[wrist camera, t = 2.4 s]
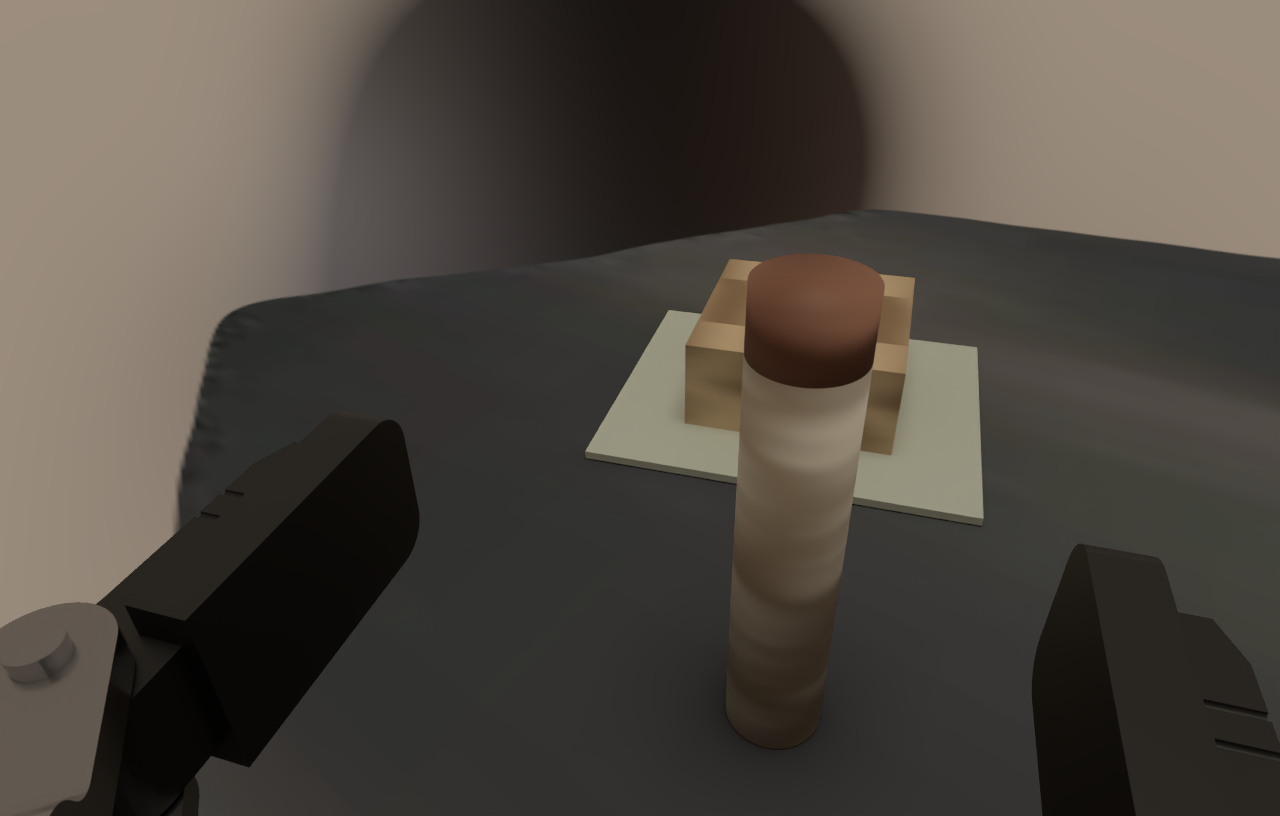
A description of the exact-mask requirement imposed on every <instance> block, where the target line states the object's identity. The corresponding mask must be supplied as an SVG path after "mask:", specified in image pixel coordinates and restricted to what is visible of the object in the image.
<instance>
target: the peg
mask: <svg viewBox="0 0 1280 816" xmlns="http://www.w3.org/2000/svg"><path fill="white" fill-rule="evenodd" d="M884 290H885V284H884V281H883V279H882V278H881V276H880V275H879V274H878V273H877V272H875V271H874V270H873V269H871V268H869V267H868V266H866V265H864V264H861V263H859V262H856V261H853V260H850V259H846V258H842V257H838V256H832V255H824V254H792V255H785V256H780V257H775V258H772V259H769V260H766V261H764V262H762V263H760V264H758V265H757V266H755V267H754V268H753V269H752V270H751V271H750V273H749V275H748V280H747V300H746V319H745V338H744V357H743V376H742V395H741V415H740V434H739V453H738V472H737V491H736V510H735V530H734V549H733V568H732V587H731V606H730V625H729V645H728V664H727V683H726V703H725V707H726V713H727V717H728V719H729V721H730V723H731V725H732V726H733V728H734V729H735V730H736V731H737V732H738V733H739V734H740V735H741V736H742V737H743V738H745V739H746V740H748V741H749V742H751V743H753V744H756V745H758V746H761V747H765V748H770V749H785V748H790V747H794V746H797V745H799V744H801V743H803V742H804V741H806V740H807V739H808V738H809V737H810V736H811V735H812V734H813V733H814V731H815V730H816V728H817V726H818V723H819V719H820V712H821V705H822V699H823V692H824V686H825V679H826V673H827V666H828V659H829V653H830V646H831V640H832V633H833V626H834V620H835V613H836V607H837V600H838V593H839V587H840V580H841V574H842V567H843V561H844V554H845V547H846V541H847V534H848V528H849V521H850V514H851V508H852V501H853V495H854V488H855V481H856V475H857V468H858V462H859V455H860V449H861V442H862V435H863V429H864V422H865V416H866V409H867V402H868V396H869V389H870V383H871V376H872V369H873V363H874V356H875V350H876V343H877V337H878V330H879V323H880V317H881V310H882V304H883V297H884Z"/></svg>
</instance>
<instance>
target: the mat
mask: <svg viewBox="0 0 1280 816" xmlns="http://www.w3.org/2000/svg"><path fill="white" fill-rule="evenodd" d="M700 316H701V314H696V313H688V312H680V311H672V310H669V311H668V313H667V314H666V316H665V318H664V319H663V321H662V323H661V324H660V326H659V328H658V330H657V331H656V333H655V335H654V336H653V338H652V340H651V341H650V343H649V345H648V346H647V348H646V350H645V351H644V353H643V355H642V357H641V358H640V360H639V362H638V363H637V365H636V367H635V368H634V370H633V372H632V373H631V375H630V377H629V379H628V380H627V382H626V384H625V385H624V387H623V389H622V390H621V392H620V394H619V395H618V397H617V399H616V400H615V402H614V404H613V406H612V407H611V409H610V411H609V412H608V414H607V416H606V417H605V419H604V421H603V422H602V424H601V426H600V427H599V429H598V431H597V433H596V434H595V436H594V438H593V439H592V441H591V443H590V444H589V446H588V448H587V449H586V451H585V454H586V458H588V459H594V460H600V461H606V462H612V463H618V464H623V465H629V466H635V467H641V468H647V469H653V470H658V471H664V472H670V473H676V474H682V475H688V476H693V477H699V478H705V479H711V480H717V481H723V482H728V483H734V484H737V472H738V453H739V434H740V432H737V431H730V430H724V429H718V428H711V427H705V426H698V425H692V424H685V345H686V343H687V341H688V339H689V337H690V335H691V333H692V331H693V329H694V327H695V325H696V324H697V322H698V320H699V318H700ZM852 504H857V505H863V506H868V507H874V508H880V509H886V510H892V511H898V512H903V513H909V514H915V515H921V516H927V517H933V518H938V519H944V520H950V521H956V522H962V523H968V524H973V525H979V526H982V522H983V495H982V468H981V440H980V413H979V385H978V358H977V347H969V346H961V345H952V344H944V343H936V342H928V341H919V340H911V339H909V346H908V356H907V367H906V376H905V381H904V387H903V393H902V398H901V404H900V410H899V415H898V421H897V427H896V432H895V438H894V443H893V449H892V455H885V454H878V453H872V452H866V451H860V455H859V462H858V468H857V475H856V481H855V488H854V495H853V501H852Z"/></svg>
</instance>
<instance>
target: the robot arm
mask: <svg viewBox="0 0 1280 816" xmlns="http://www.w3.org/2000/svg"><path fill="white" fill-rule="evenodd" d="M418 530H419V508H418V503H417V499H416V494H415V489H414V484H413V479H412V474H411V469H410V464H409V459H408V454H407V449H406V444H405V439H404V435H403V431H402V429H401V427H400V426H399V424H398V423H397V422H395V421H393V420H389V419H384V418H378V417H372V416H367V415H361V414H355V413H350V412H344V411H339V412H335V413H333V414H331V415H330V416H328V417H327V418H326V419H325V420H324V421H323V422H322V423H321V424H320V425H318V426H317V427H316V428H315V429H314V430H313V431H312V432H311V433H310V434H309V435H308V436H307V437H305V438H304V439H303V440H302V441H301V442H300V443H296V442H294V443H292V444H290V445H288V446H286V447H284V448H282V449H281V450H279V451H277V452H275V453H273V454H271V455H269V456H267V457H265V458H263V459H261V460H259V461H257V462H256V463H254V464H253V465H252V466H251V467H250V468H249V469H247V470H246V471H245V472H244V473H243V474H242V475H241V476H240V477H239V478H237V479H236V480H235V481H234V482H233V483H232V484H231V485H230V486H228V487H227V488H226V489H225V494H224V495H218V496H217V497H216V498H215V499H214V500H213V501H212V502H211V503H209V504H208V505H207V506H206V507H205V508H204V509H203V510H202V511H201V515H200V517H199V518H197V517H194V518H193V519H192V520H190V521H189V522H188V523H187V524H186V525H185V526H184V527H183V528H181V529H180V530H179V531H178V532H177V533H176V534H175V535H174V536H172V537H171V538H170V539H169V540H168V541H167V542H166V543H165V544H164V545H162V546H161V547H160V548H159V549H158V550H157V551H156V552H155V553H153V554H152V555H151V556H150V557H149V558H148V559H147V560H146V561H144V562H143V563H142V564H141V565H140V566H139V567H138V568H137V569H136V570H134V571H133V572H132V573H131V574H130V575H129V576H128V577H127V578H125V579H124V580H123V581H122V582H121V583H120V584H119V585H118V586H116V587H115V588H114V589H113V590H112V591H111V592H110V593H109V594H108V595H106V596H105V597H104V598H103V599H102V600H101V601H99V602H98V603H97V604H96V605H95V604H91V603H79V602H77V603H65V604H59V605H54V606H50V607H46V608H43V609H40V610H37V611H34V612H31V613H29V614H27V615H24V616H22V617H20V618H18V619H16V620H14V621H12V622H10V623H8V624H7V625H5V626H3V627H2V628H0V816H198V807H199V786H198V783H197V780H196V778H195V775H196V774H197V772H198V771H199V770H200V769H201V767H202V766H203V765H204V764H205V763H206V761H207V760H208V759H209V758H210V756H213V757H216V758H220V759H223V760H226V761H230V762H233V763H236V764H239V765H243V766H246V767H250V766H251V765H252V763H253V762H254V761H255V759H256V758H257V757H258V755H259V754H260V753H261V751H262V750H263V749H264V747H265V746H266V745H267V744H268V742H269V741H270V740H271V738H272V737H273V736H274V734H275V733H276V732H277V730H278V729H279V728H280V726H281V725H282V724H283V722H284V721H285V720H286V718H287V717H288V716H289V715H290V713H291V712H292V711H293V709H294V708H295V707H296V705H297V704H298V703H299V701H300V700H301V699H302V697H303V696H304V695H305V693H306V692H307V691H308V689H309V688H310V687H311V686H312V684H313V683H314V682H315V680H316V679H317V678H318V676H319V675H320V674H321V672H322V671H323V670H324V668H325V667H326V666H327V664H328V663H329V662H330V660H331V659H332V658H333V656H334V655H335V654H336V653H337V651H338V650H339V649H340V647H341V646H342V645H343V643H344V642H345V641H346V639H347V638H348V637H349V635H350V634H351V633H352V631H353V630H354V629H355V627H356V626H357V625H358V624H359V622H360V621H361V620H362V618H363V617H364V616H365V614H366V613H367V612H368V610H369V609H370V608H371V606H372V605H373V604H374V602H375V601H376V600H377V598H378V597H379V596H380V595H381V593H382V592H383V591H384V589H385V588H386V587H387V585H388V584H389V583H390V581H391V580H392V579H393V577H394V576H395V575H396V573H397V572H398V571H399V569H400V568H401V567H402V566H403V564H404V563H405V562H406V560H407V559H408V557H409V555H410V554H411V552H412V550H413V547H414V545H415V542H416V539H417V535H418ZM1032 704H1033V715H1034V726H1035V737H1036V748H1037V759H1038V770H1039V781H1040V792H1041V803H1042V814H1043V816H1280V744H1279V741H1278V738H1277V736H1276V733H1275V730H1274V727H1273V724H1272V722H1268V721H1267V715H1268V711H1267V708H1266V705H1265V702H1264V699H1263V697H1262V694H1261V691H1260V688H1259V686H1258V683H1257V680H1256V677H1255V674H1254V672H1253V669H1252V666H1251V664H1250V663H1249V662H1248V660H1247V659H1246V658H1245V657H1244V656H1243V655H1242V653H1241V652H1240V651H1239V650H1238V649H1237V647H1236V646H1235V645H1234V644H1233V643H1232V642H1231V640H1230V639H1229V638H1228V637H1227V636H1226V635H1225V633H1224V632H1223V631H1222V630H1221V629H1220V627H1219V626H1218V625H1217V624H1216V623H1215V622H1214V620H1213V619H1210V618H1204V617H1199V616H1194V615H1189V614H1183V613H1178V612H1177V608H1176V605H1175V601H1174V598H1173V594H1172V591H1171V587H1170V584H1169V581H1168V577H1167V574H1166V570H1165V568H1164V565H1163V563H1162V561H1161V560H1160V559H1159V558H1157V557H1153V556H1147V555H1141V554H1136V553H1130V552H1124V551H1119V550H1113V549H1107V548H1102V547H1096V546H1090V545H1085V544H1078V545H1076V546H1075V548H1074V549H1073V551H1072V552H1071V554H1070V557H1069V559H1068V562H1067V565H1066V567H1065V570H1064V573H1063V576H1062V579H1061V581H1060V584H1059V587H1058V590H1057V592H1056V595H1055V598H1054V601H1053V603H1052V606H1051V609H1050V612H1049V615H1048V617H1047V620H1046V623H1045V626H1044V628H1043V631H1042V634H1041V637H1040V640H1039V643H1038V646H1037V650H1036V655H1035V660H1034V667H1033V677H1032Z"/></svg>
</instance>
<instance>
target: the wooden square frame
mask: <svg viewBox="0 0 1280 816" xmlns="http://www.w3.org/2000/svg"><path fill="white" fill-rule="evenodd" d="M760 263H762V262H754V261H744V260H734V259H730V260H729V262H728V264H727V266H726V268H725V270H724V272H723V274H722V276H721V278H720V279H719V281H718V283H717V285H716V287H715V289H714V291H713V293H712V295H711V297H710V299H709V301H708V302H707V304H706V306H705V308H704V310H703V312H702V314H701V316H700V318H699V320H698V322H697V324H696V325H695V327H694V329H693V331H692V333H691V335H690V337H689V339H688V341H687V343H686V345H685V424H692V425H698V426H705V427H711V428H718V429H724V430H730V431H737V432H740V415H741V395H742V376H743V357H744V338H745V319H746V300H747V280H748V275H749V273H750V271H751V270H752V269H753V268H754V267H755V266H757V265H758V264H760ZM879 275H880V274H879ZM880 276H881V278H882V279H883V281H884V284H885V290H884V297H883V304H882V310H881V317H880V323H879V330H878V337H877V343H876V350H875V356H874V363H873V369H872V376H871V383H870V389H869V396H868V402H867V409H866V416H865V422H864V429H863V435H862V442H861V449H860V451H866V452H872V453H878V454H885V455H892V449H893V443H894V438H895V432H896V427H897V421H898V415H899V410H900V404H901V398H902V393H903V387H904V381H905V376H906V367H907V356H908V346H909V335H910V325H911V314H912V303H913V293H914V282H915V278H909V277H899V276H889V275H880Z"/></svg>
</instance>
